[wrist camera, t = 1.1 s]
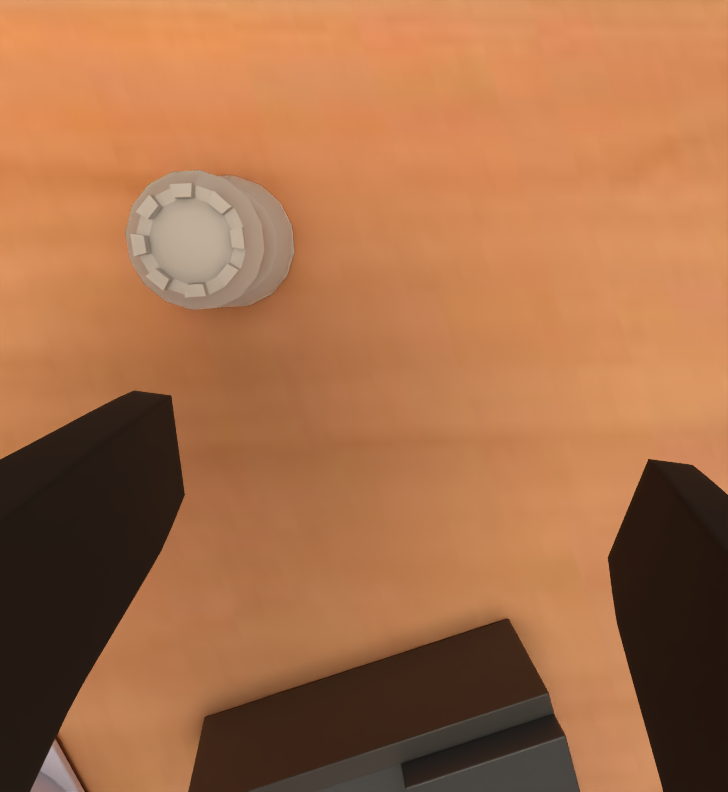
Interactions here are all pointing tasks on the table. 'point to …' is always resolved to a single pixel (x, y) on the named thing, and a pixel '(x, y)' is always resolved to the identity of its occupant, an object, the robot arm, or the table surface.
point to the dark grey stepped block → (399, 727)
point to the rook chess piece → (209, 240)
